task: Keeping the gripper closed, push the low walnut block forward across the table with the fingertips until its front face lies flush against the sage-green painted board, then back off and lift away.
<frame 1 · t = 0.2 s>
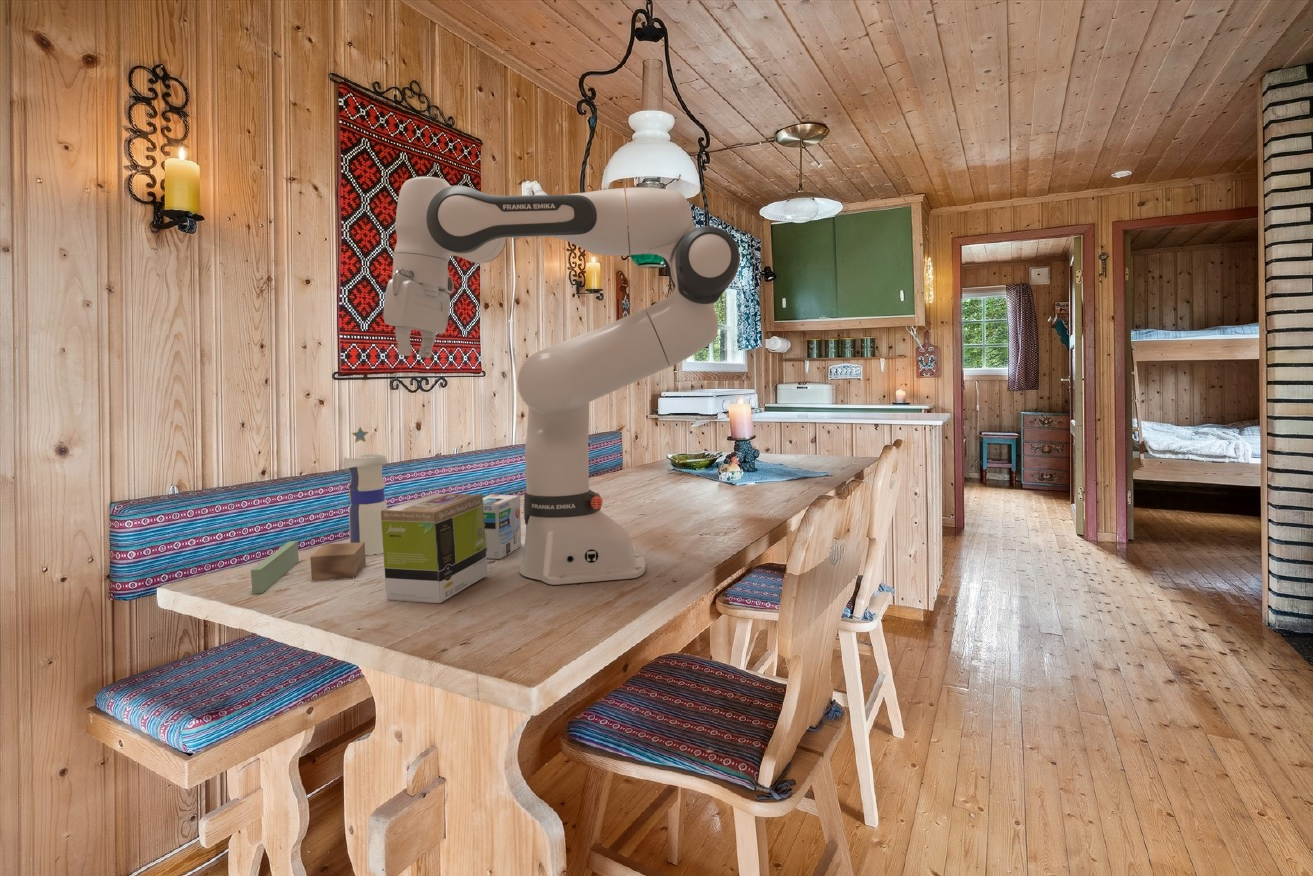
hand: (415, 356, 118), 38 cm above the table, tool pointing down, fingers open, 8 cm apart
walnut block: (340, 573, 123), on the table
light bulb box: (496, 553, 136), on the table
water bottle: (369, 552, 138), on the table
tea box: (439, 589, 113), on the table
green board: (277, 576, 121), on the table
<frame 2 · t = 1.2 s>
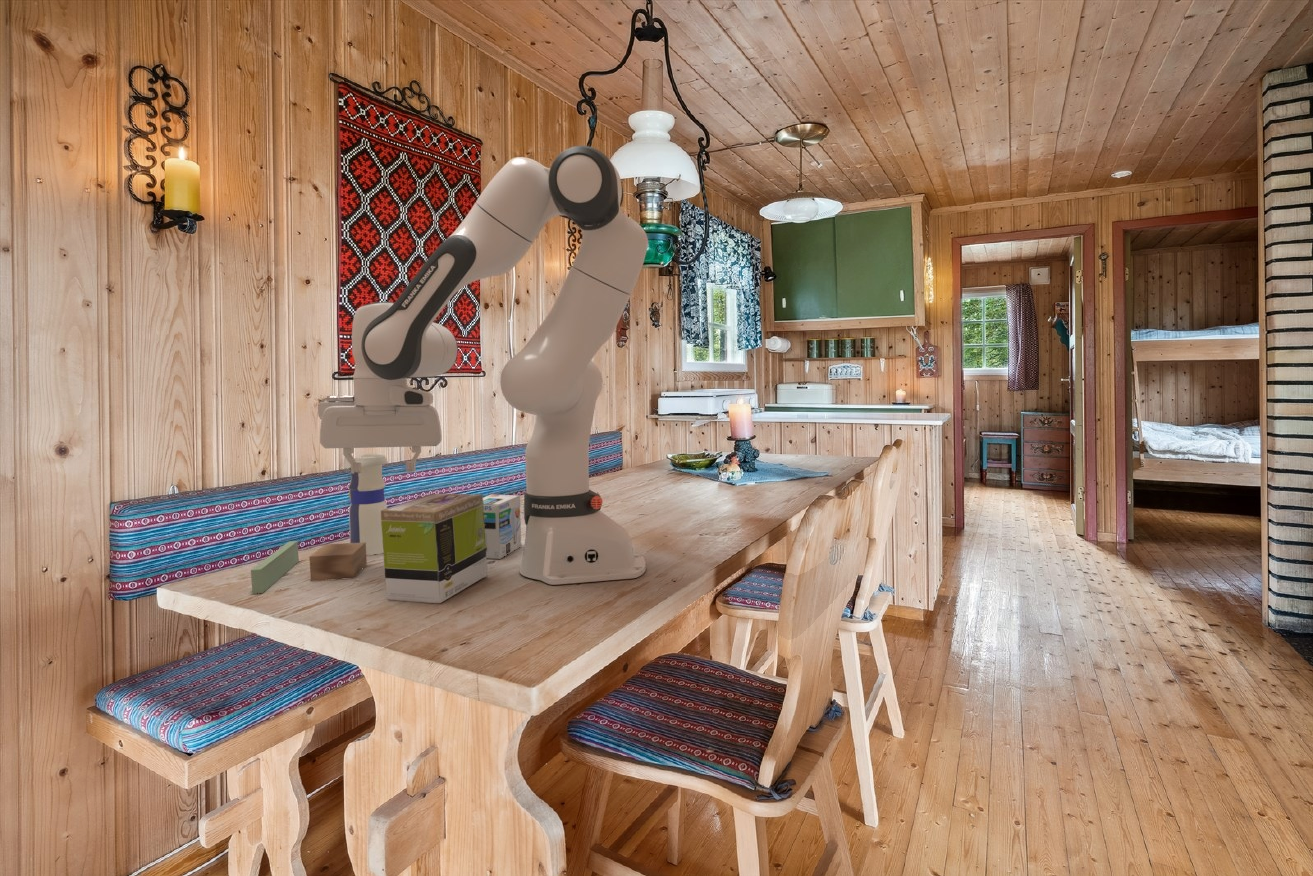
hand: (383, 472, 123), 18 cm above the table, tool pointing down, fingers open, 8 cm apart
nothing on the table moved.
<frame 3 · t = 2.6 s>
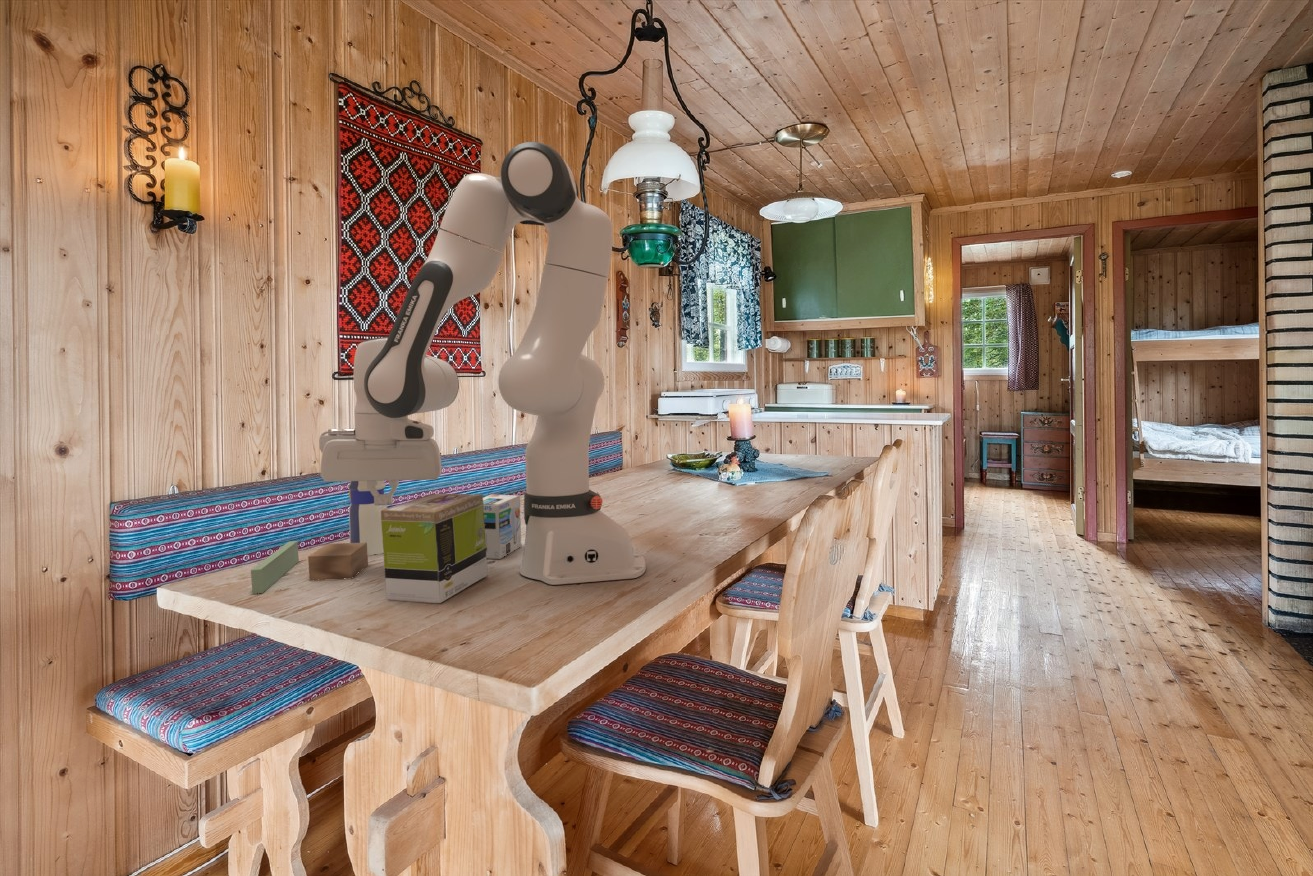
hand: (383, 504, 124), 12 cm above the table, tool pointing down, fingers closed
nothing on the table moved.
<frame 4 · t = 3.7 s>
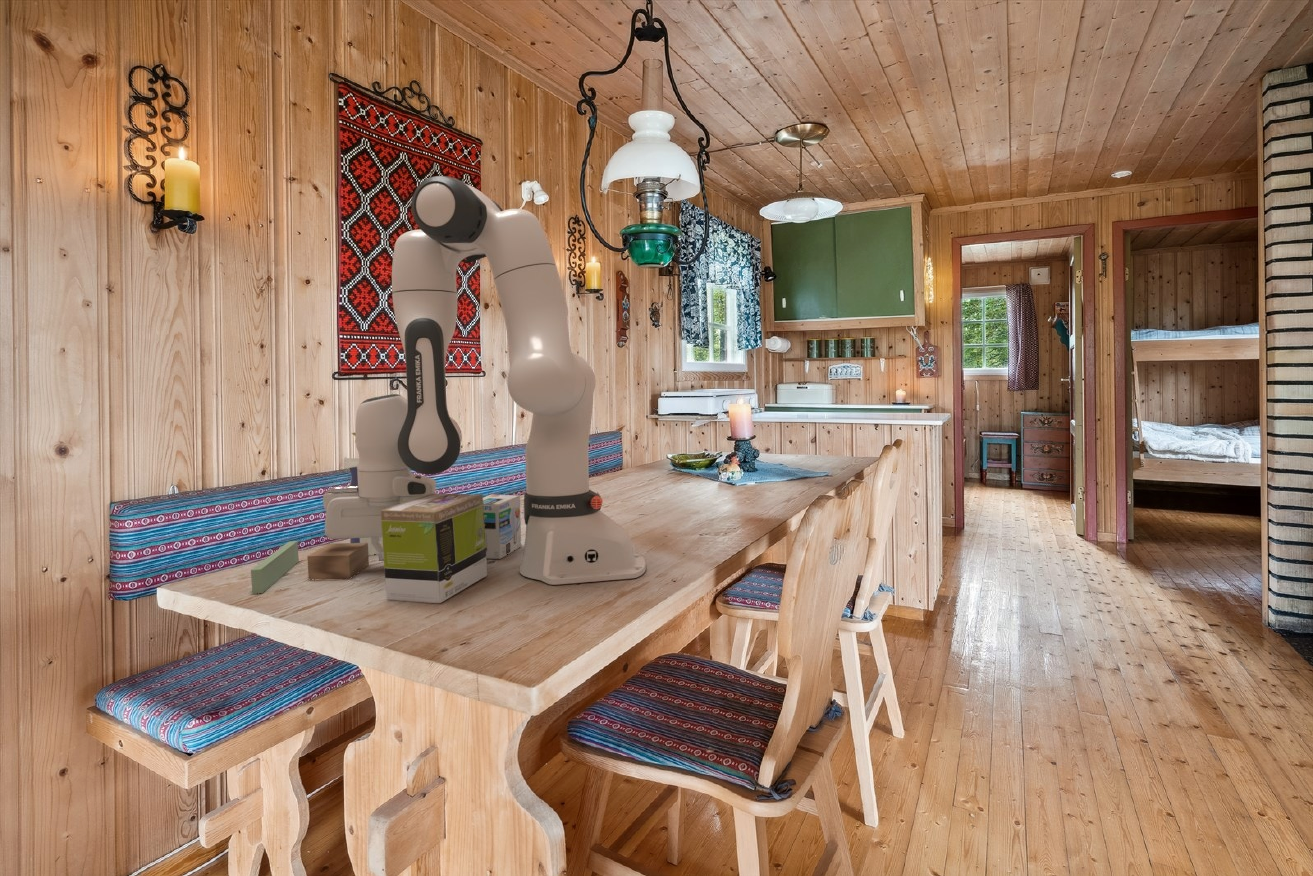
hand: (388, 559, 125), 2 cm above the table, tool pointing down, fingers closed
nothing on the table moved.
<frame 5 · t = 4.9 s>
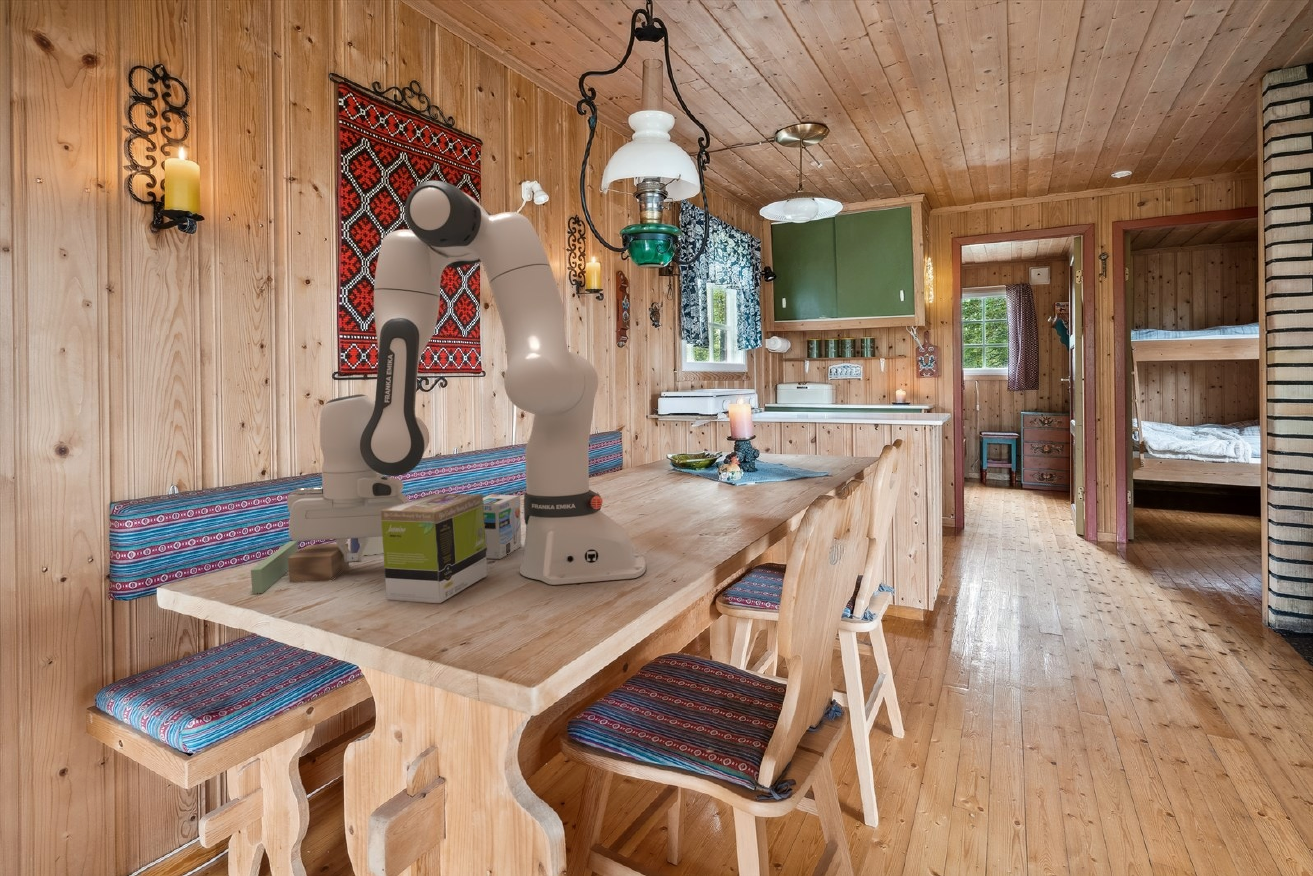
hand: (353, 561, 123), 2 cm above the table, tool pointing down, fingers closed
walnut block: (320, 575, 122), on the table, touching gripper
everything else where it was.
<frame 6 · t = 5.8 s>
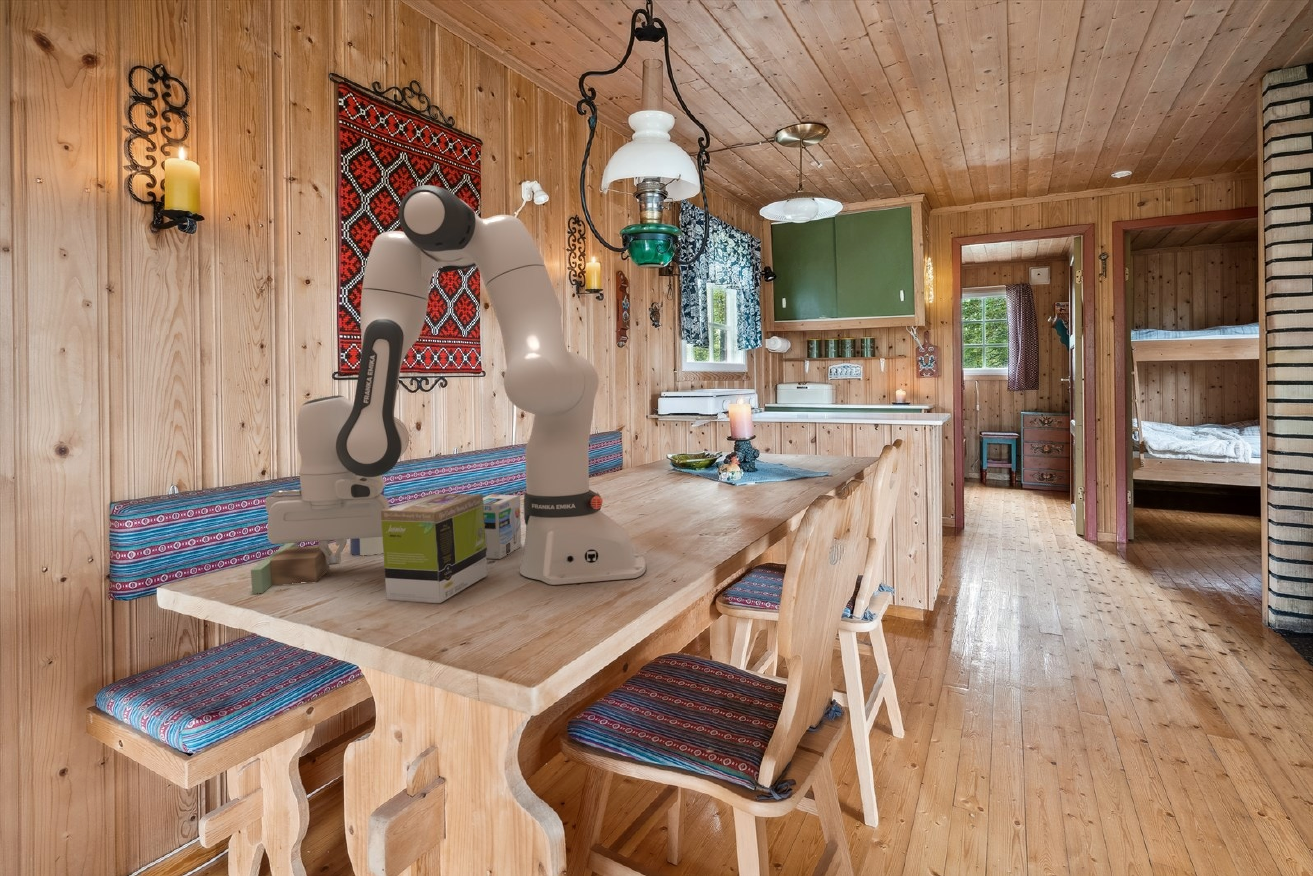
hand: (333, 564, 123), 2 cm above the table, tool pointing down, fingers closed
walnut block: (301, 577, 121), on the table, touching green board, gripper
everything else where it was.
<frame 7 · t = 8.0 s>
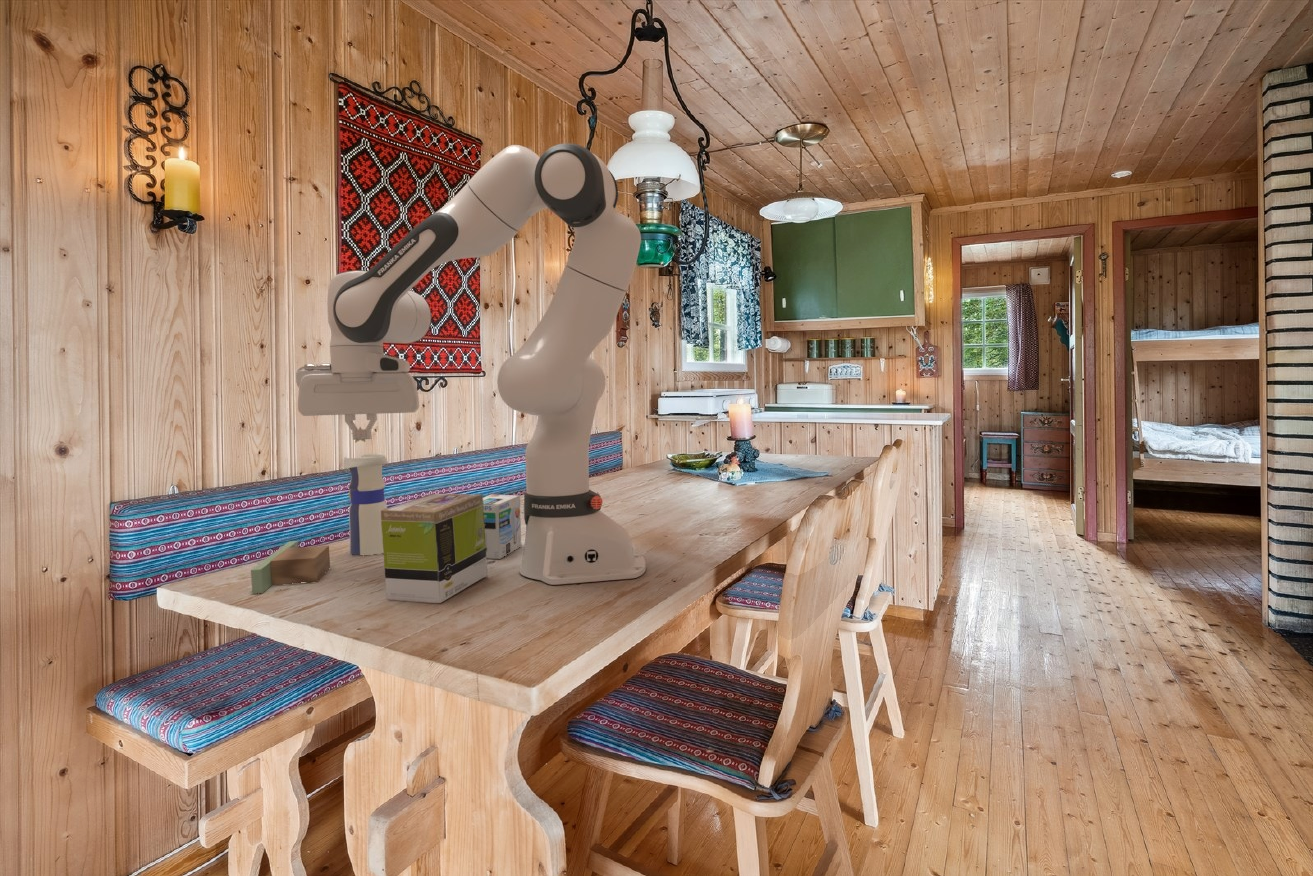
hand: (362, 439, 125), 24 cm above the table, tool pointing down, fingers closed
walnut block: (302, 578, 121), on the table
everything else where it was.
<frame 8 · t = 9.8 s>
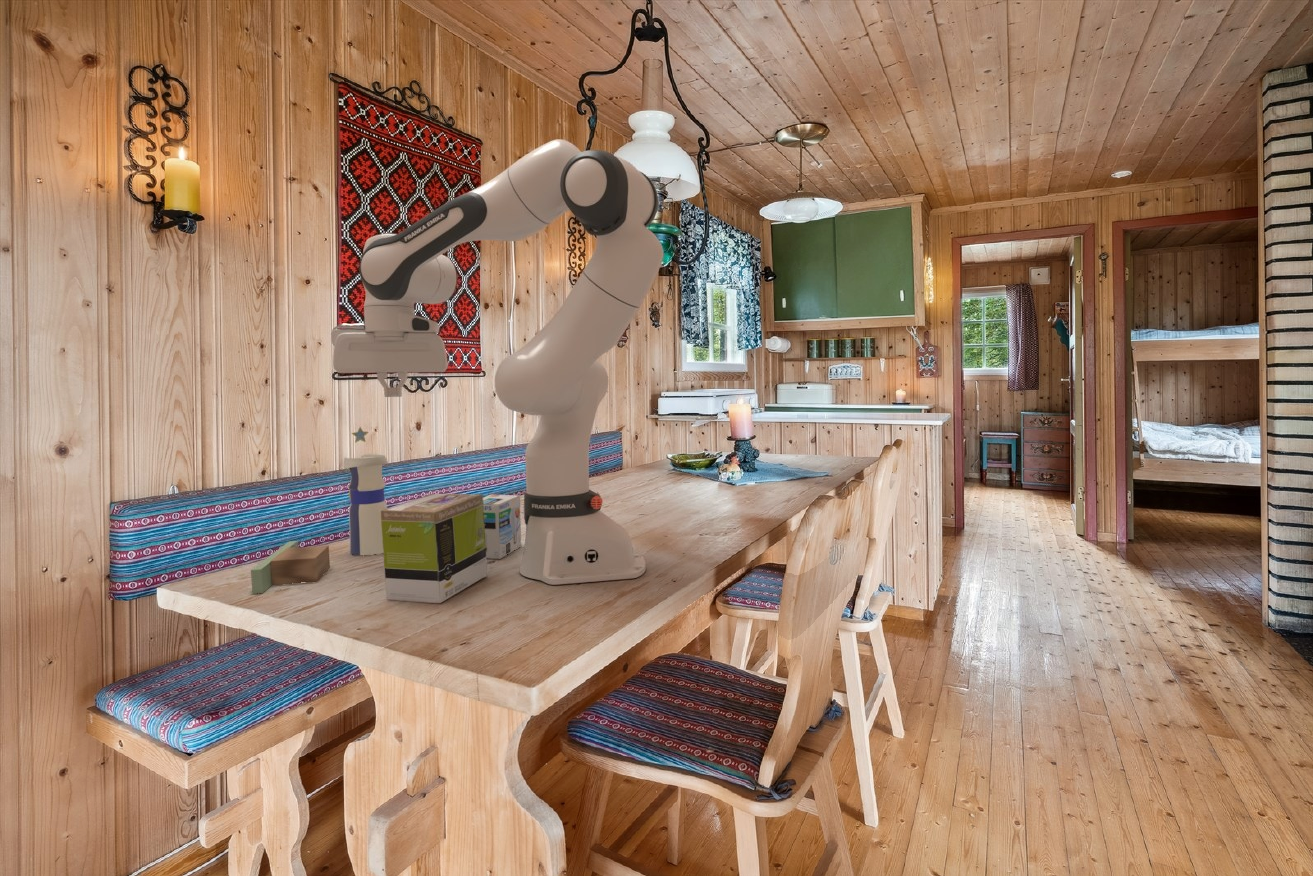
hand: (393, 396, 131), 31 cm above the table, tool pointing down, fingers closed
nothing on the table moved.
at the end: walnut block 1.1 cm from the target spot on the table beside the green board, on the table; walnut block tilted 0° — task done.
